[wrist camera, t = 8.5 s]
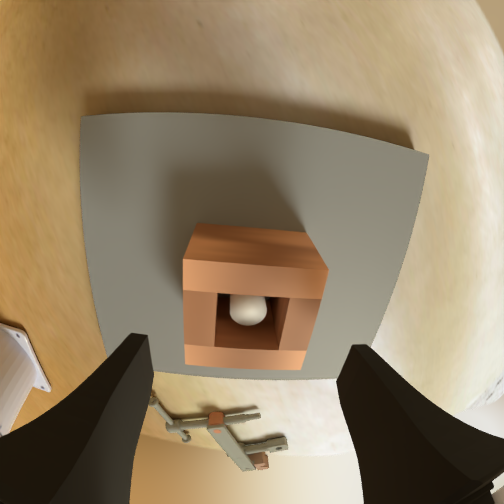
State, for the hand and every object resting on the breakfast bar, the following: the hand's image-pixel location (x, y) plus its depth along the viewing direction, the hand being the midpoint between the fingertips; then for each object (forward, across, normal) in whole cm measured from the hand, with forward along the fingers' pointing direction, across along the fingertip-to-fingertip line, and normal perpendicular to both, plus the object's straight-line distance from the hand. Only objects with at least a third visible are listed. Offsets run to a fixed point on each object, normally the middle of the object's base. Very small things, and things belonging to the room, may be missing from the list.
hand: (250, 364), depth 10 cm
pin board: (+8, 0, 0) cm, 8 cm away
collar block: (+6, 0, 0) cm, 6 cm away
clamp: (+8, 0, +18) cm, 20 cm away
